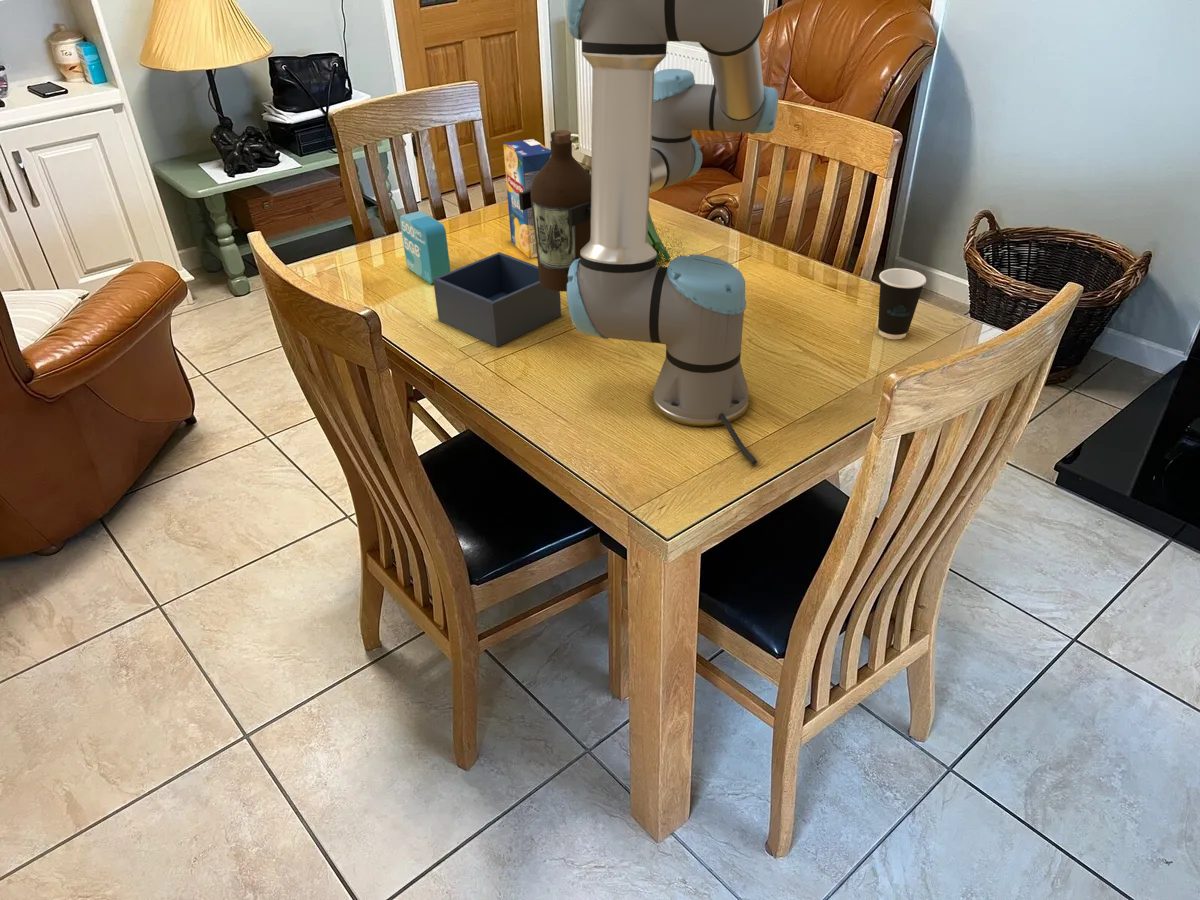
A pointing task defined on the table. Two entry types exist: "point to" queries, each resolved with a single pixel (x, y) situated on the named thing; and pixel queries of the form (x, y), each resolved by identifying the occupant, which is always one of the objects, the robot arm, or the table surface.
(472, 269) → the blue-grey hollow square box
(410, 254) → the data package
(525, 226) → the cracker box
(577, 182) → the brown bottle
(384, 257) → the table surface
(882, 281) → the dixie cup
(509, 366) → the table surface
